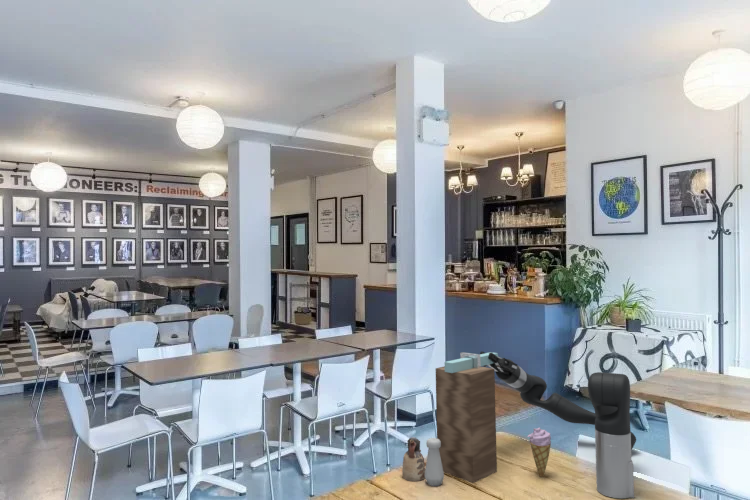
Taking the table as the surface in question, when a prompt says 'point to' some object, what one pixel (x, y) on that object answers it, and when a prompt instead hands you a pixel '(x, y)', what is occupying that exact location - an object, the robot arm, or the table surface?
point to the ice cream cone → (540, 449)
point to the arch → (475, 358)
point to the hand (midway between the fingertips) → (485, 354)
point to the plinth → (467, 422)
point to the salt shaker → (434, 463)
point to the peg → (466, 363)
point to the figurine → (413, 462)
